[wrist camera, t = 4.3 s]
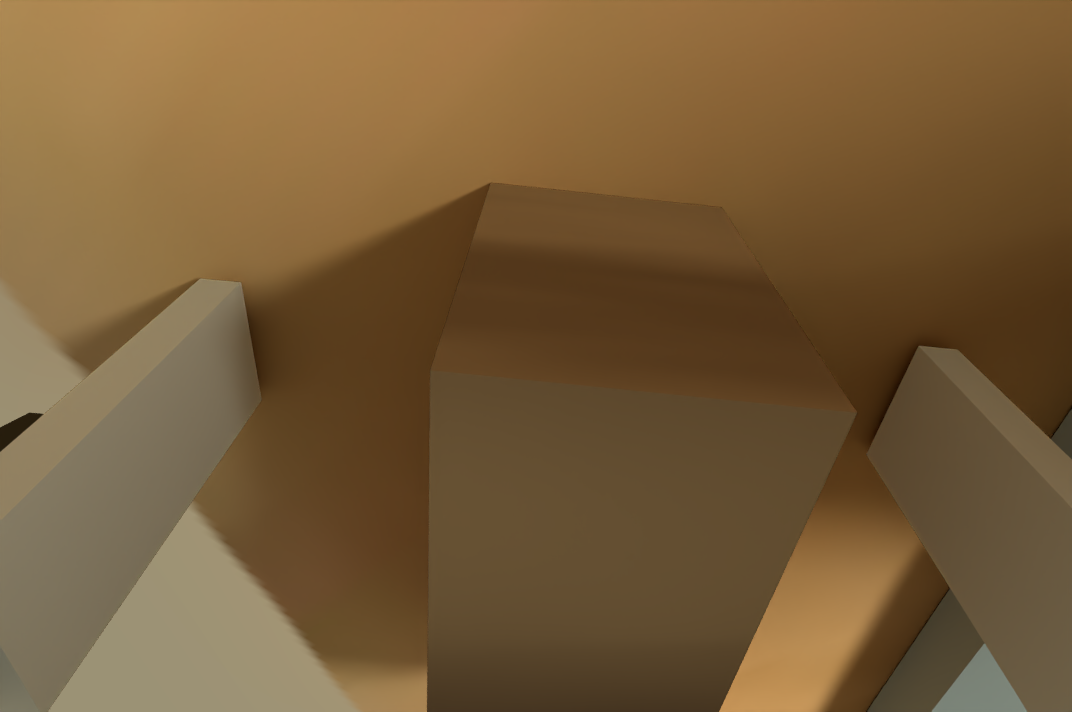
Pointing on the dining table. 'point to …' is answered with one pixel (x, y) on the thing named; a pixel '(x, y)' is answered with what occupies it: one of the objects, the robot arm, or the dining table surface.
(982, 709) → the board
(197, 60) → the dining table surface
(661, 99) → the dining table surface
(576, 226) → the brown block
